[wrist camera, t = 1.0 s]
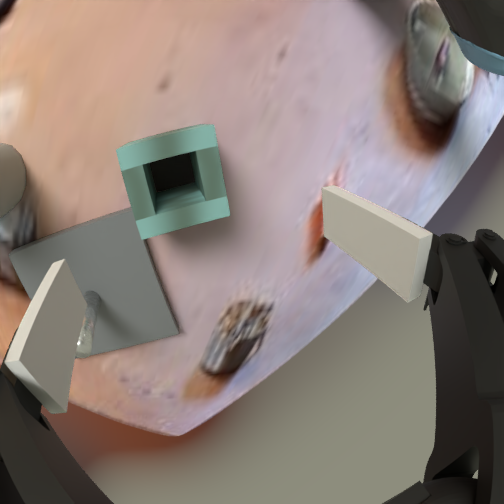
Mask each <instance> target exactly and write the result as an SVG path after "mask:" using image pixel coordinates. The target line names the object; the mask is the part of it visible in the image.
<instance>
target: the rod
mask: <svg viewBox="0 0 504 504" xmlns="http://www.w3.org/2000/svg"><path fill="white" fill-rule="evenodd" d="M83 297H84V299H85V301H86V303H87V308H86V312H85V316H84V320H83V324H82V328H81V332H80V337H79V341H78V346H77V350H76V355H75V356H77V357H79V358H86V357H88V356H90V354H91V348H92V342H93V337H94V331H95V326H96V321H97V316H98V311H99V307H100V302H101V298H100V296H99V294H98V293H96V292H94V291H87V292H85V293H84V295H83Z"/></svg>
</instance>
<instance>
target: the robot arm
mask: <svg viewBox="0 0 504 504" xmlns="http://www.w3.org/2000/svg"><path fill="white" fill-rule="evenodd" d="M436 1H437V2H438V4H439V6H440V8H441V10H442V12H443V14H444V16H445V18H446V20H447V22H448V24H449V26H450V27H449V28H450V31H451V33H452V34H453V35H454V36H455V38H456V40H457V42H458V44H459V46H460V49H461V51H462V53H463V54H464V56H465V57H466V58H467V59H468V60H469V61H470V62H471V63H473V64H474V65H476V66H478V67H479V68H481V69H483V70H486V71H488V72H491V73H495V74H498V75H502V76H504V0H436ZM322 201H323V222H324V236H325V237H326V238H327V239H329V240H330V241H331V242H333V243H334V244H335V245H337V246H338V247H339V248H340V249H342V250H343V251H344V252H346V253H347V254H348V255H349V256H351V257H352V258H353V259H355V260H356V261H357V262H358V263H360V264H361V265H362V266H363V267H365V268H366V269H367V270H368V271H370V272H371V273H372V274H373V275H375V276H376V277H377V278H378V279H380V280H381V281H382V282H383V283H385V284H386V285H387V286H388V287H390V288H391V289H392V290H393V291H394V292H396V293H397V294H398V295H399V296H400V297H401V298H403V299H404V300H405V301H406V302H407V303H409V302H410V301H412V300H414V299H416V298H418V297H419V296H420V295H421V291H422V287H423V283H424V284H426V285H427V286H429V290H428V294H427V298H426V302H425V305H424V310H426V308H427V306H428V305H429V308H430V315H431V323H432V331H433V341H434V352H435V369H436V429H435V430H436V431H435V443H434V448H433V451H432V454H431V456H430V458H429V461H428V463H427V466H426V470H425V475H424V482H423V483H421V482H420V481H419V482H417V483H415V484H414V485H412V486H411V487H409V488H408V489H406V490H404V491H403V492H401V493H400V494H398V495H396V496H394V497H393V498H391V499H389V500H388V501H386V502H384V503H383V504H504V240H503V239H502V238H501V237H500V236H499V235H498V234H497V233H495V232H493V231H492V230H489V229H479V230H477V231H476V236H475V241H472V242H468V241H467V240H466V239H465V238H463V237H461V236H459V235H456V234H443V235H441V236H440V237H439V236H437V235H435V234H433V233H432V232H430V231H428V230H426V229H424V228H423V227H421V226H418V225H417V224H415V223H413V222H411V221H409V220H407V219H405V218H404V217H401V216H399V215H397V214H395V213H393V212H391V211H389V210H387V209H385V208H383V207H381V206H379V205H376V204H374V203H372V202H370V201H368V200H366V199H364V198H362V197H359V196H357V195H355V194H353V193H351V192H348V191H346V190H344V189H342V188H339V187H337V186H335V185H332V186H328V187H323V188H322ZM494 269H495V270H496V272H497V277H496V281H495V283H494V285H493V284H492V283H491V282H490V281H491V278H492V275H493V271H494ZM86 308H87V303H86V301H85V299H84V297H83V295H82V293H81V291H80V289H79V287H78V285H77V283H76V281H75V279H74V277H73V275H72V273H71V271H70V269H69V266H68V264H67V262H66V260H65V259H63V260H60V261H57V262H54V263H53V264H52V265H51V267H50V269H49V270H48V272H47V274H46V275H45V277H44V279H43V281H42V283H41V284H40V286H39V288H38V290H37V292H36V294H35V295H34V297H33V299H32V301H31V303H30V305H29V307H28V309H27V311H26V313H25V315H24V317H23V319H22V321H21V324H20V326H19V327H18V329H17V330H16V331H15V333H14V336H13V338H12V341H11V343H10V345H9V349H8V350H7V352H6V355H5V357H4V360H3V363H2V365H1V368H0V504H114V503H113V502H112V501H111V500H110V499H109V498H108V497H107V496H106V495H105V494H104V493H103V492H102V491H101V490H100V489H99V488H98V486H97V485H96V484H95V483H94V482H93V481H92V480H91V479H90V477H89V476H88V475H87V474H86V473H85V471H84V470H83V469H82V468H81V467H80V465H79V464H78V463H77V462H76V460H75V459H74V458H73V456H72V455H71V454H70V452H69V451H68V450H67V448H66V447H65V445H64V444H63V443H62V441H61V440H60V438H59V437H58V435H57V434H56V432H55V431H54V429H53V428H52V426H51V425H50V423H49V422H48V420H47V418H46V417H45V416H44V415H43V414H42V413H41V406H42V405H43V406H44V407H45V408H46V409H47V410H48V411H49V412H50V413H52V414H55V413H65V412H67V405H68V397H69V390H70V384H71V377H72V371H73V366H74V361H75V355H76V350H77V346H78V341H79V337H80V332H81V328H82V324H83V320H84V316H85V312H86ZM477 470H478V479H474V478H472V477H473V475H474V473H475V472H476V471H477Z"/></svg>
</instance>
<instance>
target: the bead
mask: <svg viewBox="0 0 504 504" xmlns="http://www.w3.org/2000/svg"><path fill="white" fill-rule="evenodd" d="M116 152H117V156H118V160H119V164H120V168H121V172H122V176H123V179H124V183H125V187H126V190H127V194H128V197H129V201H130V204H131V208H132V211H133V214H134V218H135V221H136V224H137V227H138V230H139V233H140V236H141V239H142V240H144V239H147V238H150V237H154V236H157V235H161V234H164V233H168V232H171V231H175V230H178V229H182V228H186V227H189V226H193V225H197V224H200V223H204V222H208V221H212V220H215V219H219V218H223V217H227V216H230V210H229V205H228V200H227V194H226V189H225V183H224V178H223V172H222V167H221V161H220V156H219V150H218V145H217V139H216V133H215V127H214V125H210V124H200V125H195V126H190V127H186V128H182V129H177V130H173V131H169V132H165V133H161V134H157V135H154V136H150V137H147V138H143V139H139V140H136V141H133V142H129V143H127V144H125V145H123V146H122V147H120V148H118V149H117V150H116ZM188 152H189V154H190V159H191V164H192V169H193V174H194V179H195V182H193V183H189V184H186V185H182V186H178V187H174V188H171V189H167V190H163V191H160V192H157V191H156V187H155V184H154V180H153V176H152V171H151V167H150V162H153V161H157V160H161V159H164V158H168V157H172V156H176V155H180V154H184V153H188Z"/></svg>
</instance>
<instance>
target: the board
mask: <svg viewBox="0 0 504 504" xmlns="http://www.w3.org/2000/svg"><path fill="white" fill-rule="evenodd" d="M9 258H10V260H11V262H12V264H13V266H14V268H15V270H16V272H17V274H18V276H19V278H20V280H21V282H22V284H23V286H24V288H25V290H26V292H27V293H28V295H29V297H30V299H31V301H32V299H33V297H34V295H35V294H36V292H37V290H38V288H39V286H40V284H41V283H42V281H43V279H44V277H45V275H46V274H47V272H48V270H49V269H50V267H51V265H52V264H53V263H54V262H57V261H60V260H63V259H65V260H66V262H67V264H68V266H69V269H70V271H71V273H72V275H73V277H74V279H75V281H76V283H77V285H78V287H79V289H80V291H81V293H82V295H84V293H85V292H87V291H94V292H96V293H98V294H99V296H100V298H101V302H100V307H99V311H98V316H97V321H96V326H95V331H94V337H93V342H92V348H91V354H90V355H95V354H99V353H104V352H108V351H113V350H117V349H121V348H125V347H130V346H134V345H138V344H142V343H146V342H150V341H154V340H158V339H161V338H165V337H169V336H173V335H177V334H179V330H178V326H177V323H176V321H175V319H174V316H173V314H172V311H171V309H170V306H169V304H168V301H167V299H166V296H165V293H164V291H163V288H162V286H161V283H160V280H159V278H158V275H157V272H156V269H155V267H154V264H153V261H152V258H151V255H150V252H149V249H148V246H147V243H146V240H145V239H144V240H142V239H141V236H140V233H139V230H138V227H137V224H136V221H135V218H134V214H133V211H132V208H131V207H130V208H127V209H124V210H120V211H117V212H114V213H111V214H108V215H105V216H102V217H99V218H96V219H93V220H90V221H87V222H84V223H81V224H78V225H76V226H73V227H70V228H67V229H65V230H62V231H59V232H57V233H54V234H51V235H49V236H46V237H43V238H41V239H38V240H36V241H33V242H31V243H28V244H26V245H24V246H21V247H19V248H16V249H14V250H13V251H12V252H11V253H10V254H9ZM76 358H79V357H77V356H75V359H76Z"/></svg>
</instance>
